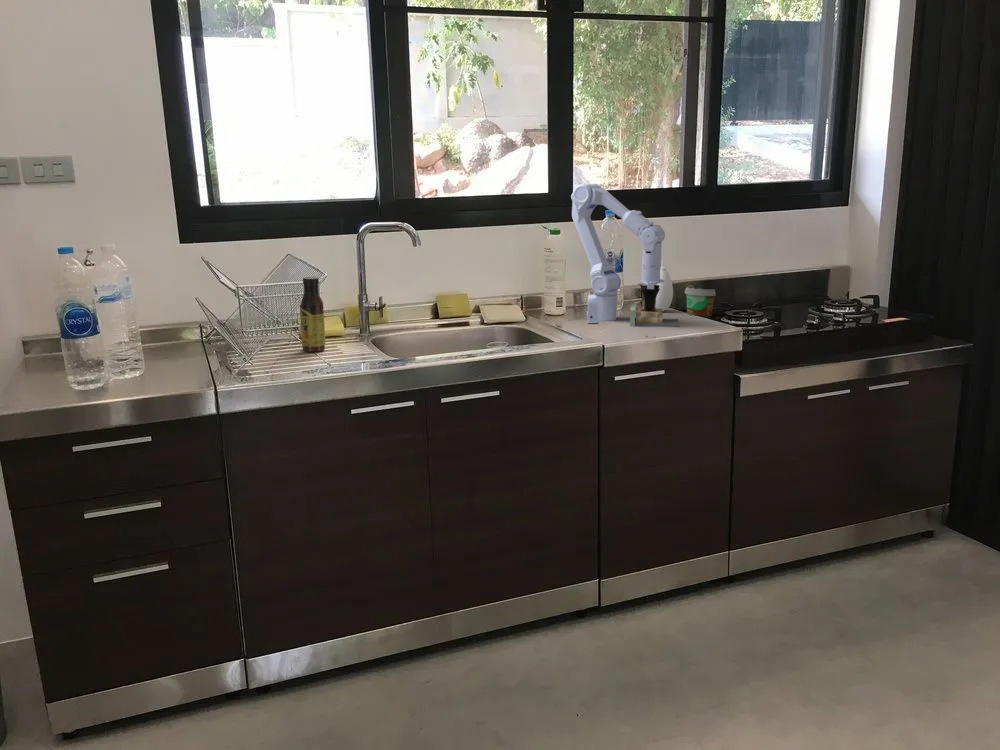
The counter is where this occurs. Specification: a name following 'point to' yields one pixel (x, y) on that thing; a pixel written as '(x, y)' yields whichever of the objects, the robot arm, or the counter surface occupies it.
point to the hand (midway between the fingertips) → (649, 309)
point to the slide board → (633, 319)
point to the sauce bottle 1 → (312, 317)
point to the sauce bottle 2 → (664, 290)
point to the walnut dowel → (650, 311)
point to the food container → (699, 301)
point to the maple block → (649, 316)
